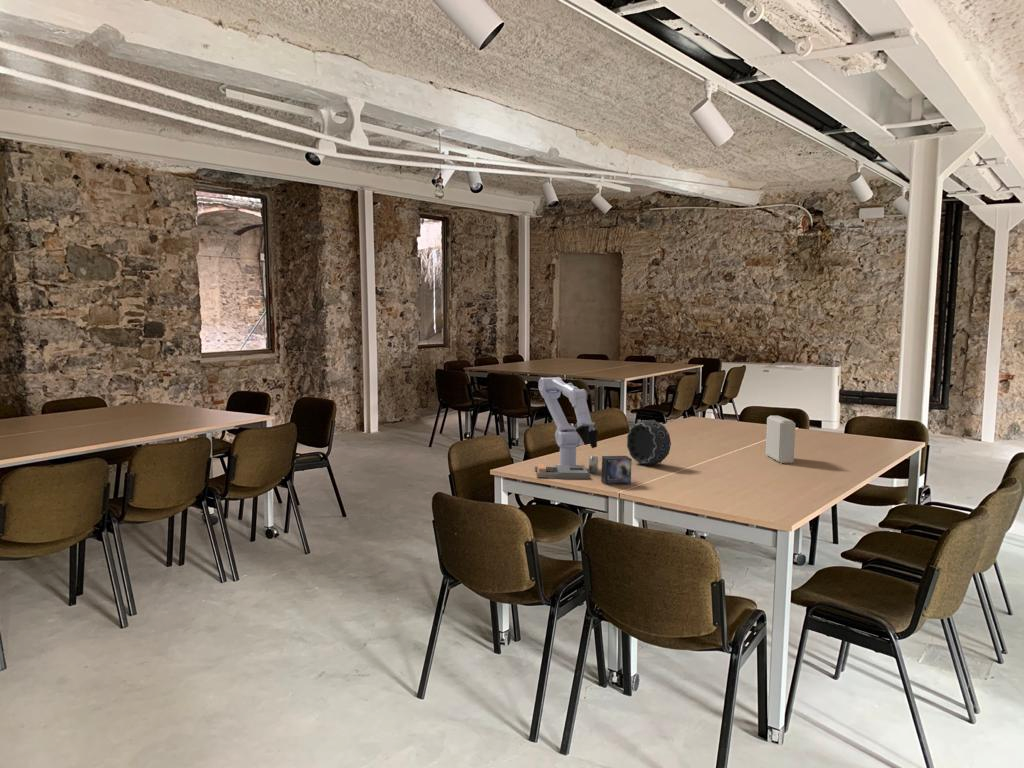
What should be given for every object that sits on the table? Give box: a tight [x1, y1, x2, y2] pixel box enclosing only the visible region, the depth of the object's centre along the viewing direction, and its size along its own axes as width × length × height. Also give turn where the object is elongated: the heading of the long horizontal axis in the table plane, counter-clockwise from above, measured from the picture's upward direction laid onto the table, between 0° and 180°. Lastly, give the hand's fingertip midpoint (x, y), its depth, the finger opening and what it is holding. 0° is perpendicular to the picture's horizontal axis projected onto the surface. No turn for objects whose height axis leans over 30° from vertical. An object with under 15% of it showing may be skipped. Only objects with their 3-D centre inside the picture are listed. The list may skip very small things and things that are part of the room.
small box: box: [600, 455, 633, 485], centre depth 297 cm, size 11×6×10 cm, turn 101°
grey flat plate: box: [534, 464, 590, 480], centre depth 312 cm, size 16×21×2 cm
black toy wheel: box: [626, 419, 672, 466], centre depth 337 cm, size 11×20×20 cm, turn 35°
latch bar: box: [536, 463, 547, 473], centre depth 311 cm, size 10×3×4 cm, turn 1°
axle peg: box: [588, 455, 599, 475], centre depth 315 cm, size 4×4×7 cm
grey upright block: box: [765, 415, 796, 464], centre depth 354 cm, size 21×8×20 cm, turn 179°
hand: (590, 445), depth 311 cm, fingers open, 7 cm apart
